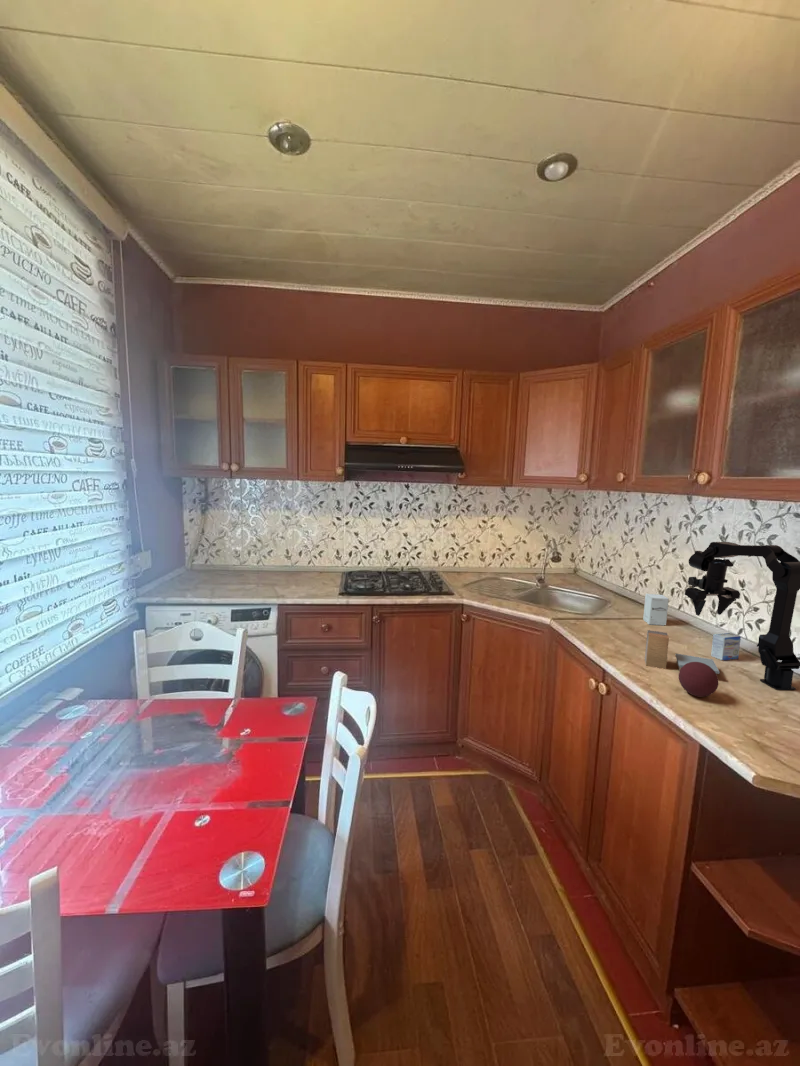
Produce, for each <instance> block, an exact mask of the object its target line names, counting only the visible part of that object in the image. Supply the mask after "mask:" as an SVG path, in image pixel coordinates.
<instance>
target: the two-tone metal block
mask: <svg viewBox="0 0 800 1066" xmlns="http://www.w3.org/2000/svg"><path fill="white" fill-rule="evenodd" d="M646 632H647V633H646V644H645V655H644V662H645V667H652V668H656V667H657V669H662V668H663V669H662V670H666V669H667V661H668V652H669V651H668V650H669V641H670V637H669V634H668V633H667V632H664V631H656V630H651V629H649V630H648V629H647V631H646Z"/></svg>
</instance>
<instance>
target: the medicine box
mask: <svg viewBox="0 0 800 1066" xmlns="http://www.w3.org/2000/svg"><path fill="white" fill-rule="evenodd" d="M741 639H742V638H741V636H740V635H738V634H734V633H732V632H725V633H716V634H715V633H714V634H713V635H712V643H711V645H712V646H711V653H710V656H711V657H712V658H714V657H715V658H714V659H716V660H717V659H718V660H719V659H720V661H722V660H724V661H729V660H730V659H732V660H738V659H739V655H740V654H739V653H740V647H741V646H740V645H741Z"/></svg>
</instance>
